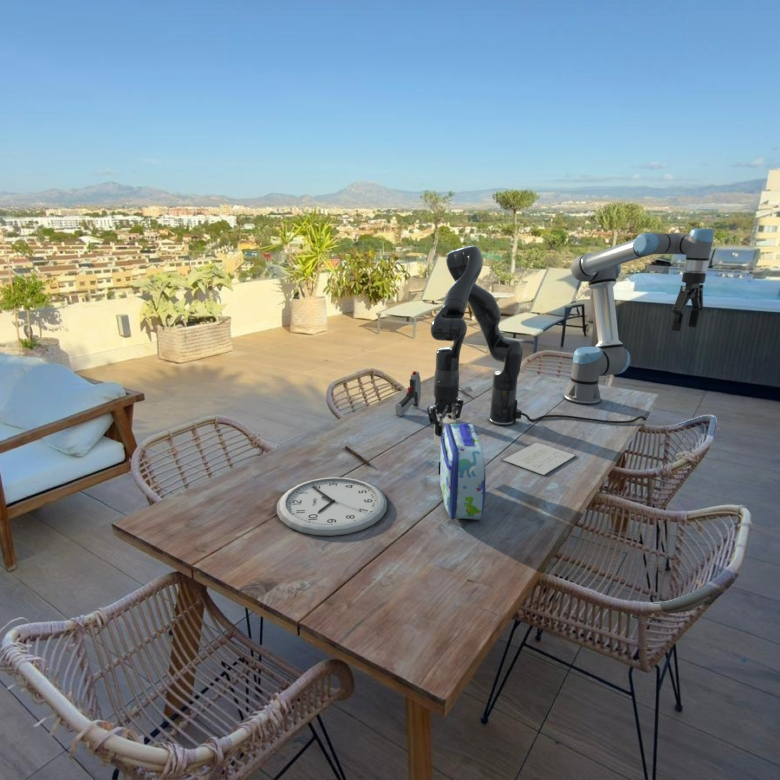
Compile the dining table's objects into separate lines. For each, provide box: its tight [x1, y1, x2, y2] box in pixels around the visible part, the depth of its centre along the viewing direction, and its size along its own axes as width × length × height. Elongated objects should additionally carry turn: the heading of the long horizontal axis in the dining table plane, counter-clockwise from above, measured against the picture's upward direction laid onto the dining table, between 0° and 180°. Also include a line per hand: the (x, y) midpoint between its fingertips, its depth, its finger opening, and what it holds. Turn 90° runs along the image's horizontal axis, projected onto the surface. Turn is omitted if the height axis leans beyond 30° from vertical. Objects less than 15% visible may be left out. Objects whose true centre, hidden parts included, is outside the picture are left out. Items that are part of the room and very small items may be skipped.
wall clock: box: [276, 476, 388, 537], centre depth 142 cm, size 30×2×30 cm
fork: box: [459, 385, 470, 397], centre depth 242 cm, size 3×16×2 cm, turn 16°
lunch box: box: [438, 422, 486, 521], centre depth 142 cm, size 26×11×21 cm, turn 179°
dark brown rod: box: [344, 445, 370, 465], centre depth 173 cm, size 15×1×1 cm, turn 34°
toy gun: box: [395, 370, 422, 417], centre depth 214 cm, size 2×16×15 cm
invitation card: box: [502, 442, 577, 476], centre depth 174 cm, size 21×1×15 cm
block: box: [433, 416, 457, 448], centre depth 165 cm, size 4×5×9 cm
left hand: (444, 433), depth 165 cm, fingers closed on block, 4 cm apart
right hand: (684, 328), depth 200 cm, fingers open, 13 cm apart
